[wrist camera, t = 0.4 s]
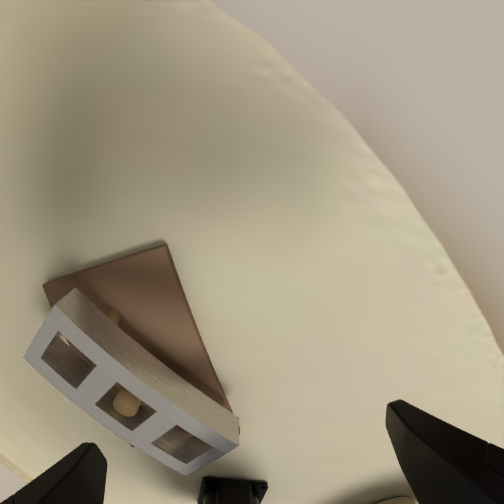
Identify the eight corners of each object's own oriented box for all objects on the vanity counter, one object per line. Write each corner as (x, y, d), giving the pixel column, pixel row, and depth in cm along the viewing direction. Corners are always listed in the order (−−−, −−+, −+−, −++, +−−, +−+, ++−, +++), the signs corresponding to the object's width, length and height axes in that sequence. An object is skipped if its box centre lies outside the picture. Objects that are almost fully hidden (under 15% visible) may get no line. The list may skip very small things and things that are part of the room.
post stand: (239, 427, 24) (240, 473, 19) (134, 441, 24) (121, 481, 19) (166, 243, 20) (144, 267, 15) (47, 281, 20) (9, 307, 15)
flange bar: (238, 417, 21) (239, 445, 18) (190, 450, 21) (186, 476, 19) (76, 287, 18) (54, 304, 15) (42, 338, 19) (23, 357, 16)
